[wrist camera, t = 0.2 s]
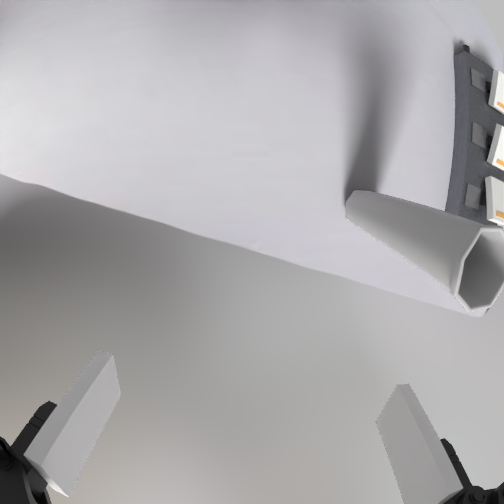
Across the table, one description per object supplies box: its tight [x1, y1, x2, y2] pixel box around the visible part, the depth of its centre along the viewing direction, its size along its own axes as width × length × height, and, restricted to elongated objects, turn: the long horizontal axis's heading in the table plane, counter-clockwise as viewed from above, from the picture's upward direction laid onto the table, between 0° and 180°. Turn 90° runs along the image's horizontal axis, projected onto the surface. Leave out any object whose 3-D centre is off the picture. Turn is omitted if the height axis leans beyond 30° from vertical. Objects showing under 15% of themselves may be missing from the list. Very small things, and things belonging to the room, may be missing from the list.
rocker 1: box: [488, 70, 504, 114], centre depth 24 cm, size 6×4×2 cm, turn 173°
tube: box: [345, 190, 504, 312], centre depth 24 cm, size 5×5×25 cm
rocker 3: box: [485, 176, 504, 225], centre depth 29 cm, size 6×4×2 cm, turn 173°
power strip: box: [445, 45, 504, 225], centre depth 29 cm, size 31×10×4 cm, turn 173°
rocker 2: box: [487, 123, 504, 171], centre depth 26 cm, size 6×4×2 cm, turn 173°
